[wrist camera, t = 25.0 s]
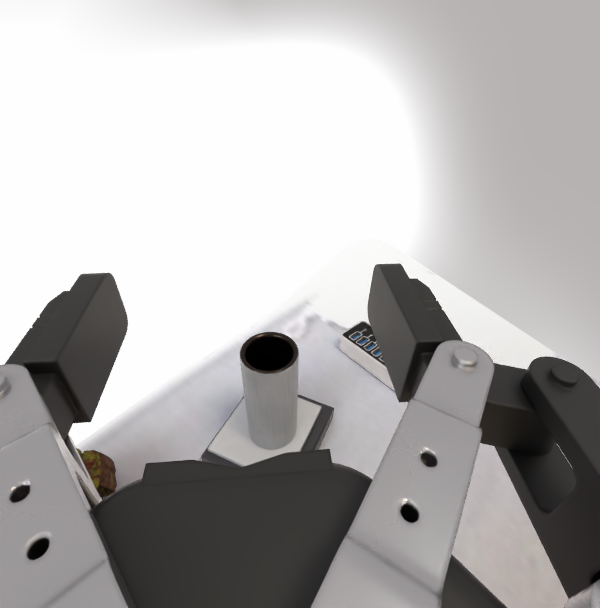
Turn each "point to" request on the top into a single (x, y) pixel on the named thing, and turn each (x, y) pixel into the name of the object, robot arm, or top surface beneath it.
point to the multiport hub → (365, 350)
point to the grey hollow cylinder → (270, 388)
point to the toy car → (100, 471)
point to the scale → (243, 451)
